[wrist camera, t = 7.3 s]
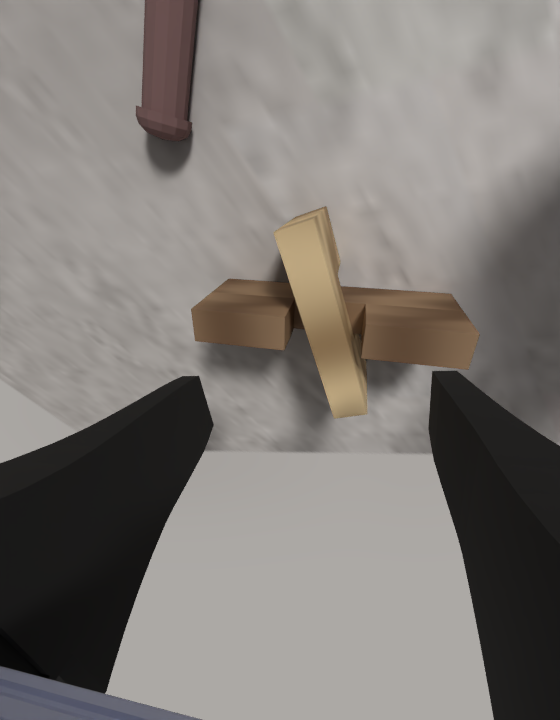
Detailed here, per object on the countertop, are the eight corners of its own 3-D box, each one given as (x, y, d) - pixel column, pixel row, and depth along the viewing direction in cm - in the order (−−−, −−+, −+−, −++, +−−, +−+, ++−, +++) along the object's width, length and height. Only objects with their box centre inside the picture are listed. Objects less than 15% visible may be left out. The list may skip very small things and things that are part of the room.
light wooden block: (295, 216, 17) (273, 232, 13) (326, 206, 17) (313, 218, 12) (339, 367, 21) (334, 418, 17) (366, 362, 20) (367, 414, 16)
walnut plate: (451, 293, 17) (479, 334, 13) (443, 322, 18) (468, 369, 14) (228, 278, 20) (191, 309, 15) (230, 305, 20) (195, 340, 16)
